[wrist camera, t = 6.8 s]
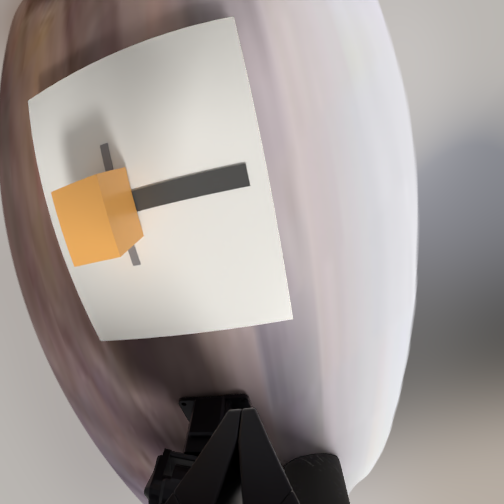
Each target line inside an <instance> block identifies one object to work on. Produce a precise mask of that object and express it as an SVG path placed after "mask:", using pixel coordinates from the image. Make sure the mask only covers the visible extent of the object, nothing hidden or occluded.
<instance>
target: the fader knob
mask: <svg viewBox="0 0 504 504" xmlns="http://www.w3.org/2000/svg"><path fill="white" fill-rule="evenodd" d="M51 195H52V199H53V202H54V206H55V210H56V213H57V217H58V220H59V223H60V227H61V230H62V233H63V236H64V239H65V242H66V245H67V248H68V251H69V254H70V256H71V259H72V262H73V264H74V267H77V266H81V265H86V264H90V263H95V262H100V261H104V260H109V259H114V258H118V257H121V256H122V255H123V254H124V253H125V252H127V251H128V250H129V249H130V248H131V247H132V246H133V245H134V244H135V243H136V242H138V241H139V240H140V239H141V238H142V237H143V236H144V235H143V231H142V228H141V225H140V221H139V218H138V214H137V210H136V207H135V203H134V199H133V196H132V192H131V188H130V184H129V180H128V176H127V172H126V168H125V167H123V168H119V169H115V170H110V171H106V172H102V173H98V174H95V175H92V176H90V177H87V178H84V179H82V180H79V181H77V182H74V183H72V184H69V185H67V186H64V187H62V188H59V189H57V190H55V191H52V192H51Z"/></svg>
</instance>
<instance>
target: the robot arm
mask: <svg viewBox="0 0 504 504" xmlns="http://www.w3.org/2000/svg"><path fill="white" fill-rule="evenodd" d="M179 405H180V407H181V409H182V411H183V412H184V414H185V416H186V417H187V419H188V421H189V427H188V432H187V436H186V441H185V446H184V451H183V453H179V452H175V451H171V450H170V449H166V448H165V449H164V452H163V455H160V456H158V457H157V461H156V465H155V468H154V471H153V473H152V475H151V477H150V479H149V481H148V483H147V485H146V487H145V490H144V495H145V496H146V497H147V498H148V500H149V504H300V503H299V501H298V499H297V497H296V495H295V493H294V491H293V489H292V487H291V485H290V483H289V481H288V479H287V477H286V474H285V472H284V470H283V468H282V466H281V464H280V462H279V460H278V457H277V455H276V453H275V451H274V449H273V447H272V444H271V442H270V440H269V438H268V435H267V433H266V431H265V429H264V426H263V424H262V422H261V420H260V417H259V415H258V413H257V410H256V408H252V406H251V403H250V400H249V397H248V395H246V394H235V395H224V396H210V397H191V398H181V399H180V400H179Z"/></svg>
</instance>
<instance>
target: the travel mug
mask: <svg viewBox="0 0 504 504" xmlns="http://www.w3.org/2000/svg"><path fill="white" fill-rule="evenodd" d="M284 472H285V474H286V477H287V479H288V481H289V483H290V485H291V487H292V489H293V491H294V493H295V495H296V497H297V499H298V501H299V503H300V504H350V502H349V498H348V494H347V489H346V485H345V481H344V477H343V472H342V468H341V465H340V461H339V459H338V458H337V457H336V456H334V455H330V454H313V455H308V456H303V457H300V458H297V459H295V460H293V461H291V462H289V463H288V464H287V465H286V466H285V470H284Z"/></svg>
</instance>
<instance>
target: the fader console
mask: <svg viewBox="0 0 504 504" xmlns="http://www.w3.org/2000/svg"><path fill="white" fill-rule="evenodd" d="M28 105H29V115H30V123H31V130H32V137H33V143H34V149H35V154H36V160H37V165H38V169H39V174H40V179H41V183H42V187H43V191H44V195H45V199H46V203H47V206H48V210H49V213H50V217H51V220H52V224H53V227H54V230H55V233H56V236H57V239H58V242H59V245H60V248H61V251H62V254H63V257H64V259H65V262H66V265H67V267H68V270H69V272H70V275H71V278H72V280H73V282H74V285H75V287H76V290H77V292H78V294H79V297H80V299H81V301H82V303H83V306H84V308H85V310H86V312H87V314H88V317H89V319H90V321H91V323H92V325H93V327H94V329H95V331H96V333H97V335H98V337H99V339H100V341H113V340H129V339H142V338H154V337H165V336H175V335H185V334H194V333H202V332H211V331H218V330H226V329H233V328H240V327H247V326H254V325H260V324H267V323H273V322H279V321H285V320H290V319H293V316H292V309H291V303H290V297H289V291H288V284H287V278H286V272H285V266H284V260H283V254H282V249H281V243H280V237H279V231H278V226H277V220H276V215H275V209H274V204H273V198H272V193H271V188H270V183H269V177H268V172H267V167H266V162H265V157H264V152H263V147H262V142H261V137H260V132H259V127H258V122H257V117H256V113H255V108H254V103H253V99H252V94H251V89H250V85H249V80H248V76H247V71H246V67H245V62H244V58H243V54H242V49H241V45H240V41H239V37H238V32H237V28H236V24H235V20H234V16H232V17H227V18H222V19H218V20H213V21H209V22H205V23H201V24H197V25H193V26H189V27H186V28H182V29H179V30H175V31H172V32H169V33H166V34H163V35H160V36H157V37H154V38H151V39H148V40H146V41H143V42H140V43H138V44H135V45H132V46H130V47H127V48H125V49H123V50H120V51H118V52H115V53H113V54H111V55H109V56H107V57H104V58H102V59H100V60H98V61H96V62H94V63H92V64H90V65H88V66H86V67H84V68H82V69H80V70H78V71H76V72H74V73H72V74H71V75H69V76H67V77H65V78H64V79H62V80H60V81H58V82H57V83H55V84H53V85H52V86H50V87H48V88H47V89H45V90H44V91H42V92H40V93H39V94H37V95H36V96H34V97H33V98H31V99H30V100H28ZM123 167H125V168H126V172H127V176H128V180H129V184H130V188H131V192H132V196H133V199H134V203H135V207H136V210H137V214H138V218H139V221H140V225H141V228H142V231H143V235H144V236H143V237H142V238H141V239H140V240H139V241H138V242H136V243H135V244H134V245H133V246H132V247H131V248H130V249H129V250H128V251H127V252H125V253H124V254H123V255H122V256H121V257H118V258H114V259H109V260H104V261H100V262H95V263H90V264H86V265H81V266H77V267H74V264H73V262H72V259H71V256H70V254H69V251H68V248H67V245H66V242H65V239H64V236H63V233H62V230H61V227H60V223H59V220H58V217H57V213H56V210H55V206H54V202H53V199H52V195H51V192H52V191H55V190H57V189H59V188H62V187H64V186H67V185H69V184H72V183H74V182H77V181H79V180H82V179H84V178H87V177H90V176H92V175H95V174H98V173H102V172H106V171H110V170H115V169H119V168H123Z"/></svg>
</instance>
